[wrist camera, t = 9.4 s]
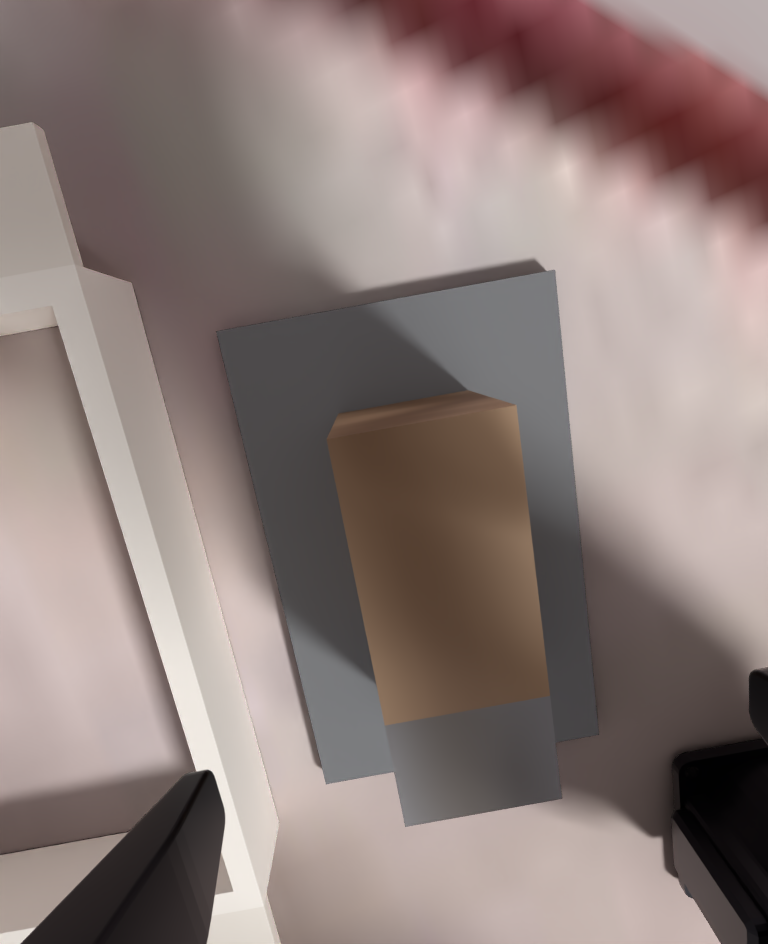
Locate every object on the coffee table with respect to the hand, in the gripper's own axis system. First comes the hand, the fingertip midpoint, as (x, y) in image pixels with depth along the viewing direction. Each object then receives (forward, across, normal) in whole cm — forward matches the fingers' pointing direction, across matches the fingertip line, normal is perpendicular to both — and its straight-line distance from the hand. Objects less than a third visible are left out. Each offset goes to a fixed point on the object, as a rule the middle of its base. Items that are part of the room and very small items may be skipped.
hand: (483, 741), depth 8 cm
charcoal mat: (+9, 0, 0) cm, 9 cm away
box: (+8, 0, 0) cm, 8 cm away
